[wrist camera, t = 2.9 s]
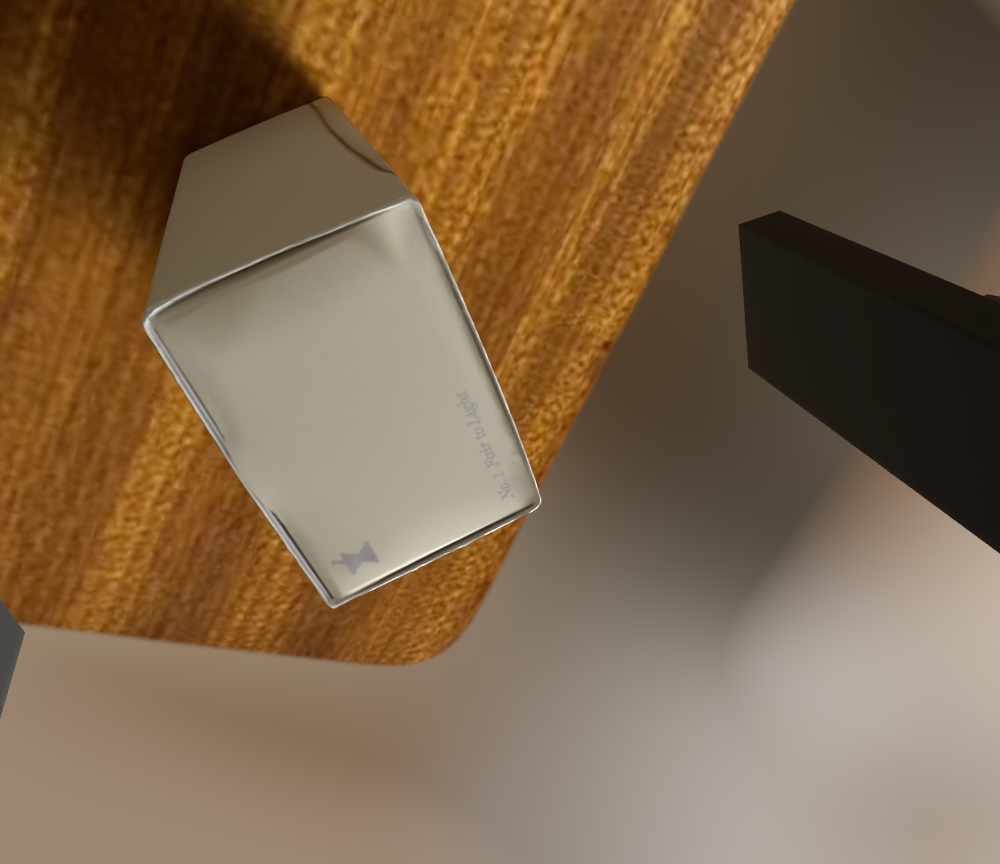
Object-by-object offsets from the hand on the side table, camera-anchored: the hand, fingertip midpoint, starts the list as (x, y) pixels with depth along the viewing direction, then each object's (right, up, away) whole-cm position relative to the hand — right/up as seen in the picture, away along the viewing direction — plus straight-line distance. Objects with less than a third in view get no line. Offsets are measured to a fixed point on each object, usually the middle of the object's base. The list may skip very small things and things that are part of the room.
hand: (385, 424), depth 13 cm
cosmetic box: (-4, +6, +10) cm, 12 cm away
